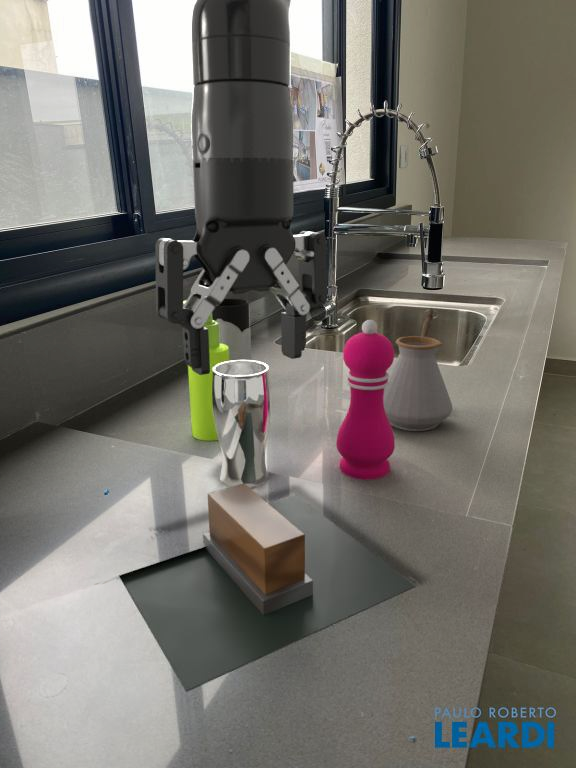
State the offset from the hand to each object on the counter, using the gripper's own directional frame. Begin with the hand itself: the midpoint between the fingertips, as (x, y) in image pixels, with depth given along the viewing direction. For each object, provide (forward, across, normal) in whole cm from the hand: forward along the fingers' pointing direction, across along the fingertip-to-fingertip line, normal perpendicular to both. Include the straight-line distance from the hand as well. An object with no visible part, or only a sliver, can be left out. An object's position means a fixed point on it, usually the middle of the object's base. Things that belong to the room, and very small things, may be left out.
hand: (247, 364), depth 50 cm
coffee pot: (+21, -44, -24) cm, 54 cm away
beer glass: (+21, -8, -17) cm, 28 cm away
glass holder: (+21, -27, -56) cm, 66 cm away
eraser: (+20, 0, 0) cm, 20 cm away
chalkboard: (+21, 0, 0) cm, 21 cm away
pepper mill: (+21, -22, -11) cm, 33 cm away
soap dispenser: (+21, -11, -34) cm, 42 cm away
